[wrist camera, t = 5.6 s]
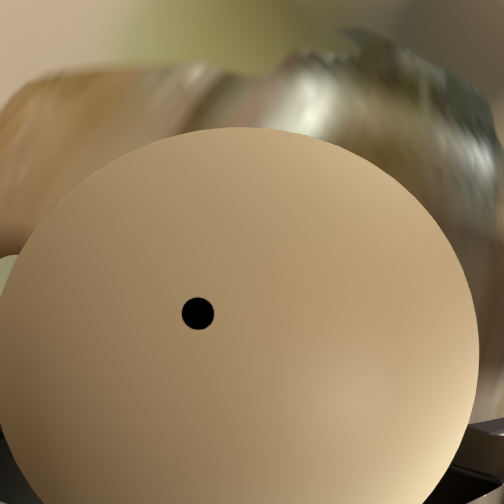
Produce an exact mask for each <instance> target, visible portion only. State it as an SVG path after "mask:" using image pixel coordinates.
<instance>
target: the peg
mask: <svg viewBox="0 0 504 504" xmlns="http://www.w3.org/2000/svg"><path fill="white" fill-rule="evenodd" d="M478 369H479V338H478V327H477V319H476V314H475V309H474V304H473V300H472V295H471V292H470V289H469V286H468V283H467V280H466V277H465V274H464V272H463V269H462V267H461V265H460V262H459V260H458V258H457V256H456V254H455V252H454V250H453V248H452V246H451V244H450V243H449V241H448V240H447V238H446V236H445V235H444V233H443V232H442V230H441V229H440V227H439V226H438V224H437V223H436V221H435V220H434V219H433V218H432V216H431V215H430V214H429V213H428V212H427V211H426V209H425V208H424V207H423V206H422V205H421V204H420V202H419V201H418V200H417V199H416V198H415V197H414V196H413V195H412V194H411V193H409V192H408V191H407V190H406V189H405V188H404V187H403V186H402V185H401V184H399V183H398V182H397V181H396V180H395V179H394V178H392V177H391V176H389V175H388V174H386V173H385V172H384V171H382V170H381V169H379V168H378V167H376V166H375V165H373V164H372V163H370V162H369V161H367V160H365V159H363V158H361V157H359V156H357V155H355V154H353V153H351V152H349V151H347V150H345V149H343V148H341V147H339V146H336V145H333V144H330V143H328V142H325V141H322V140H319V139H316V138H313V137H310V136H306V135H301V134H296V133H291V132H286V131H281V130H275V129H265V128H245V127H231V128H219V129H209V130H199V131H194V132H190V133H186V134H181V135H177V136H173V137H169V138H165V139H161V140H158V141H156V142H153V143H151V144H148V145H146V146H143V147H141V148H138V149H136V150H134V151H131V152H129V153H127V154H124V155H122V156H121V157H119V158H117V159H115V160H114V161H112V162H110V163H109V164H107V165H105V166H104V167H102V168H100V169H99V170H97V171H95V172H94V173H92V174H91V175H89V176H88V177H87V178H85V179H84V180H83V181H82V182H81V183H79V184H78V185H77V186H76V187H74V188H73V189H72V190H71V191H70V192H69V193H67V194H66V195H65V196H64V197H63V198H62V199H61V200H59V202H58V203H57V204H56V205H55V206H54V207H53V208H52V209H51V210H50V212H49V213H48V214H47V215H46V216H45V217H44V219H43V220H42V221H41V222H40V223H39V224H38V226H37V227H36V228H35V229H34V231H33V232H32V234H31V235H30V237H29V239H28V240H27V242H26V243H25V245H24V247H23V248H22V250H21V252H20V253H19V255H18V257H17V258H16V260H15V262H14V264H13V267H12V269H11V271H10V274H9V276H8V278H7V281H6V283H5V286H4V289H3V291H2V294H1V297H0V424H1V427H2V431H3V434H4V436H5V439H6V441H7V443H8V446H9V448H10V450H11V453H12V455H13V457H14V459H15V461H16V463H17V465H18V467H19V468H20V470H21V472H22V473H23V475H24V477H25V478H26V480H27V481H28V483H29V484H30V486H31V488H32V489H33V490H34V492H35V493H36V494H37V496H38V497H39V498H40V499H41V501H42V502H43V503H44V504H422V503H423V502H424V501H425V500H426V499H427V497H428V496H429V495H430V494H431V492H432V491H433V490H434V488H435V487H436V485H437V484H438V483H439V481H440V480H441V478H442V477H443V475H444V473H445V472H446V470H447V469H448V467H449V465H450V463H451V461H452V459H453V457H454V455H455V453H456V451H457V449H458V447H459V445H460V443H461V440H462V438H463V435H464V433H465V430H466V427H467V424H468V421H469V418H470V414H471V411H472V407H473V403H474V399H475V393H476V386H477V379H478Z"/></svg>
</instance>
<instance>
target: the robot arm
mask: <svg viewBox="0 0 504 504" xmlns="http://www.w3.org/2000/svg"><path fill="white" fill-rule="evenodd" d="M0 504H44V503H43V502H42V501H41V499H40V498H39V497H38V496H37V494H36V493H35V492H34V490H33V489H32V488H31V486H30V484H29V483H28V481H27V480H26V478H25V477H24V475H23V473H22V472H21V470H20V468H19V467H18V465H17V463H16V461H15V459H14V457H13V455H12V453H11V450H10V448H9V446H8V443H7V441H6V439H5V436H4V434H3V431H2V427H1V424H0ZM422 504H504V436H502V435H491V434H481V433H473V432H466V431H465V433H464V435H463V438H462V440H461V443H460V445H459V447H458V449H457V451H456V453H455V455H454V457H453V459H452V461H451V463H450V465H449V467H448V469H447V470H446V472H445V473H444V475H443V477H442V478H441V480H440V481H439V483H438V484H437V485H436V487H435V488H434V490H433V491H432V492H431V494H430V495H429V496H428V497H427V499H426V500H425V501H424V502H423V503H422Z"/></svg>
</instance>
